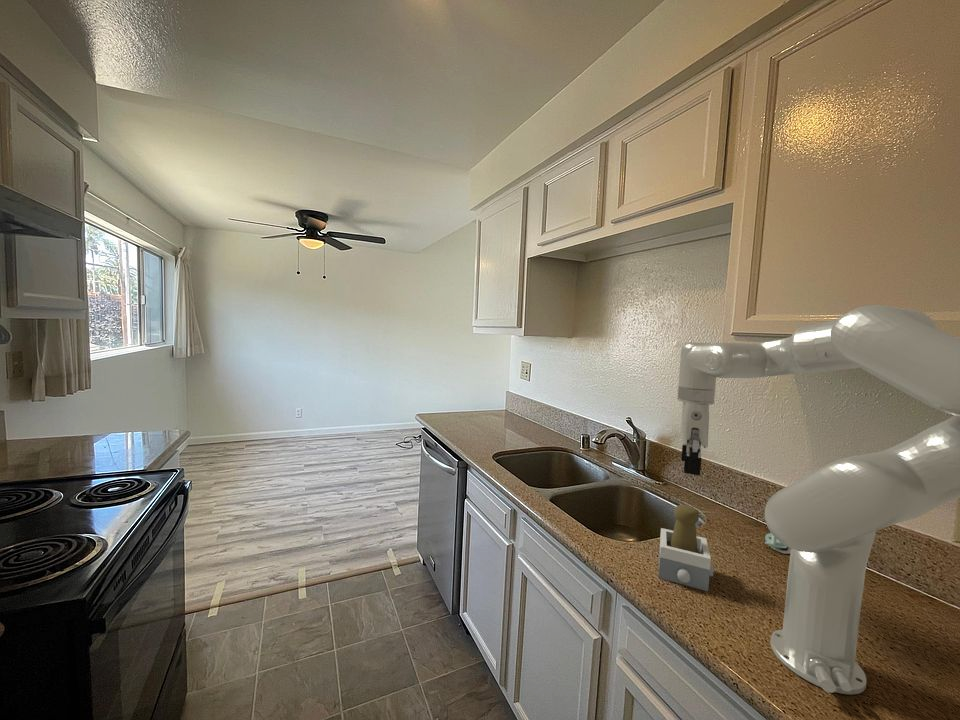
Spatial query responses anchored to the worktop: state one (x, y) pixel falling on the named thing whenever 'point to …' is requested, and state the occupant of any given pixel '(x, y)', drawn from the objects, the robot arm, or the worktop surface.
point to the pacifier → (776, 544)
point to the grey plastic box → (685, 563)
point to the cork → (685, 528)
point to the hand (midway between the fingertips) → (690, 467)
